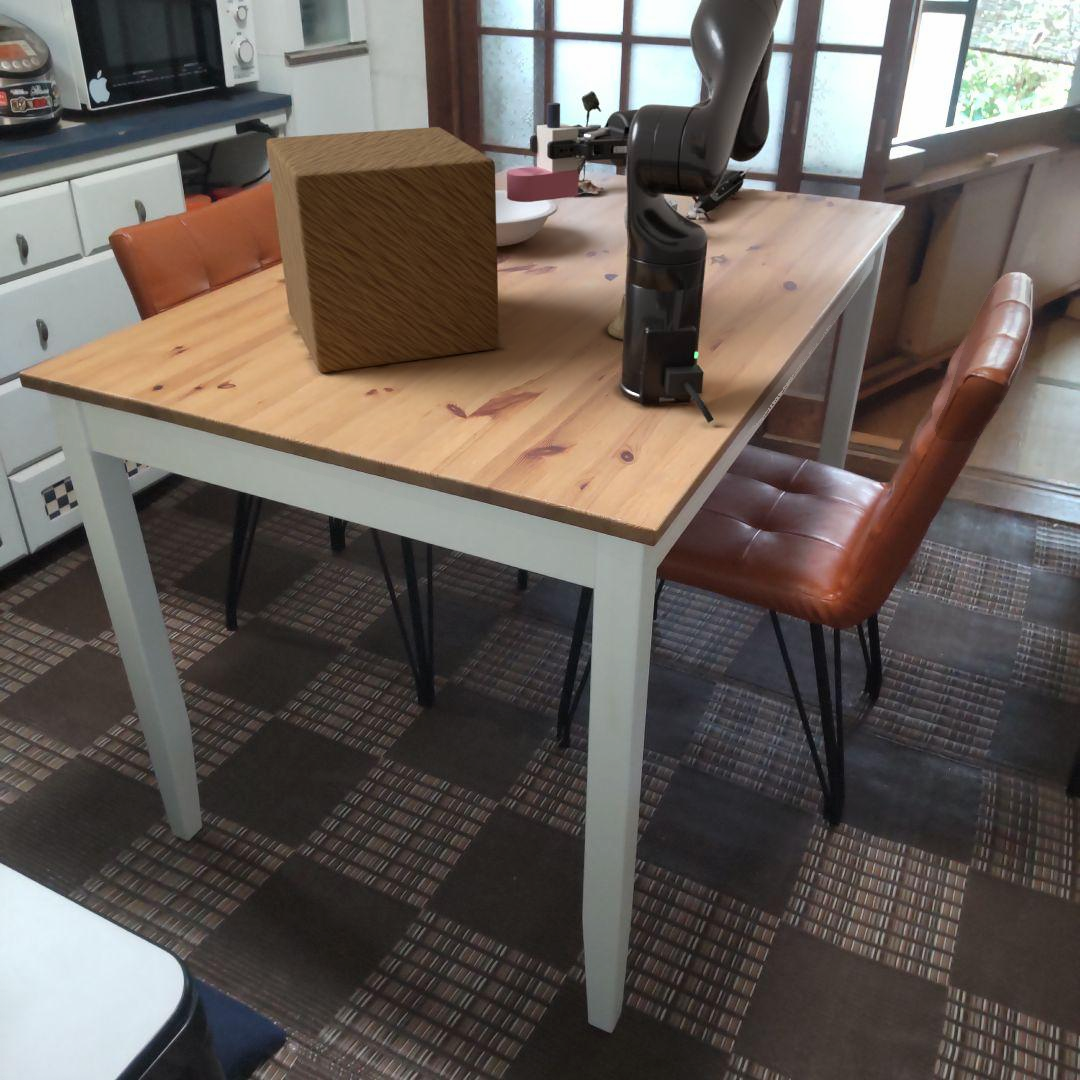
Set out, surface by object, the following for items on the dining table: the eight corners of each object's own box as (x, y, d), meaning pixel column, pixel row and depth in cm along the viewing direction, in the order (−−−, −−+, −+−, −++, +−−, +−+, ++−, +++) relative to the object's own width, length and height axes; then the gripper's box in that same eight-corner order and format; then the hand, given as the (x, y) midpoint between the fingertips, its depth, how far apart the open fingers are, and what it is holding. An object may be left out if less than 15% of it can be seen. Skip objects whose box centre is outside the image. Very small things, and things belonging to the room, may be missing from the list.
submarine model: (690, 236, 197) (731, 205, 191) (670, 207, 196) (710, 175, 190) (733, 201, 221) (770, 172, 215) (715, 175, 220) (752, 146, 214)
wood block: (288, 314, 151) (264, 137, 138) (449, 295, 159) (441, 125, 146) (318, 375, 132) (293, 175, 118) (500, 349, 139) (496, 159, 126)
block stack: (560, 188, 147) (561, 99, 141) (578, 196, 143) (579, 104, 137) (500, 196, 143) (499, 104, 137) (517, 203, 139) (516, 109, 133)
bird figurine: (561, 186, 223) (562, 87, 212) (608, 191, 218) (612, 91, 208) (545, 194, 216) (545, 92, 206) (594, 199, 212) (596, 96, 202)
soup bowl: (399, 241, 185) (396, 204, 182) (500, 218, 199) (499, 183, 195) (481, 270, 170) (480, 230, 167) (584, 243, 184) (585, 206, 180)
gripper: (618, 102, 150) (515, 111, 143) (673, 116, 139) (565, 126, 132) (616, 155, 154) (516, 166, 147) (669, 173, 143) (564, 185, 136)
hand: (540, 147), depth 140 cm, fingers closed on block stack, 4 cm apart
